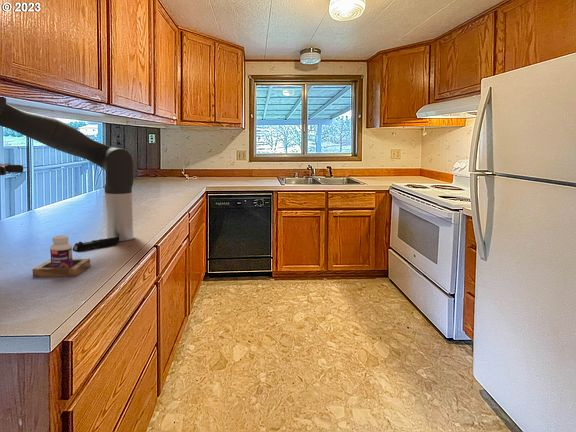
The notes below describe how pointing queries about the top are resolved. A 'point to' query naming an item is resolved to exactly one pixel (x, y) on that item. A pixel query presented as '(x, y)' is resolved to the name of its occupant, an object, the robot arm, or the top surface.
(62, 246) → the pill bottle
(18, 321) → the top surface
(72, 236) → the top surface
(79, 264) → the socket block
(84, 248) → the electric trimmer
